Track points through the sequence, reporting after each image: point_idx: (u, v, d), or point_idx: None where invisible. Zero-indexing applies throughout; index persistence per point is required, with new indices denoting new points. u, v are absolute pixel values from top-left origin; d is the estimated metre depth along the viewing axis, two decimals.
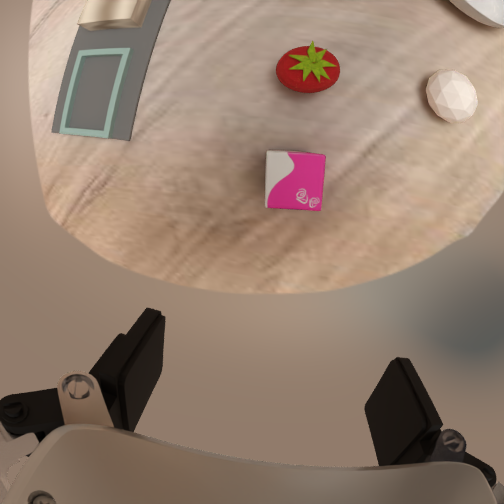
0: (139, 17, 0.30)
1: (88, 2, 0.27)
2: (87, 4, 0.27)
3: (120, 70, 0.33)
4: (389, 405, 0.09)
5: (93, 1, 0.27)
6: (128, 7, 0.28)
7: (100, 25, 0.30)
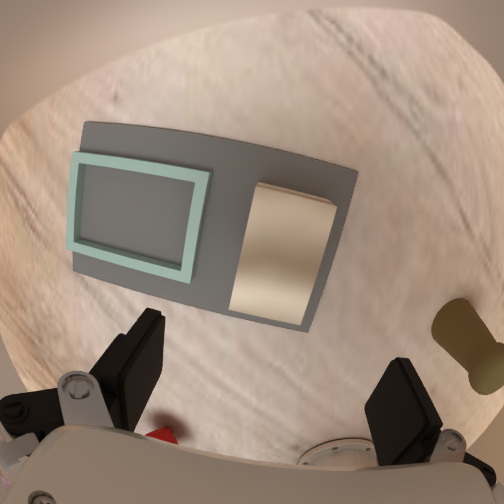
0: None
1: (310, 206, 0.21)
2: (304, 206, 0.21)
3: (152, 269, 0.26)
4: (389, 405, 0.09)
5: (306, 221, 0.21)
6: (254, 304, 0.24)
7: None
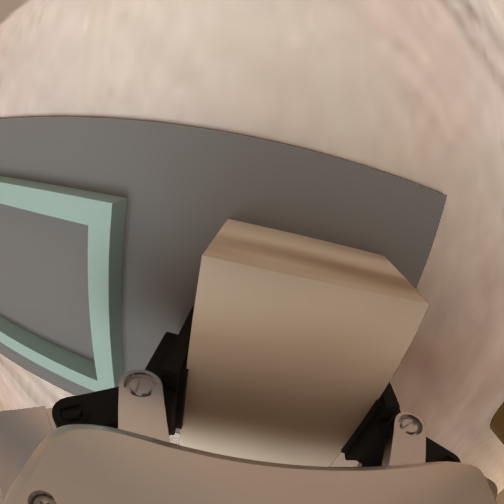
0: None
1: (364, 309, 0.07)
2: (346, 308, 0.07)
3: (57, 368, 0.13)
4: None
5: (346, 345, 0.07)
6: None
7: None
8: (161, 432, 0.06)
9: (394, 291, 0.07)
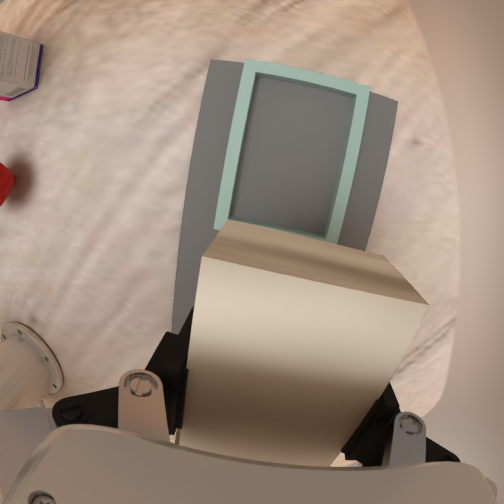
0: None
1: (363, 309, 0.07)
2: (346, 309, 0.07)
3: (227, 184, 0.23)
4: None
5: (346, 346, 0.07)
6: None
7: None
8: (161, 432, 0.06)
9: (394, 292, 0.07)
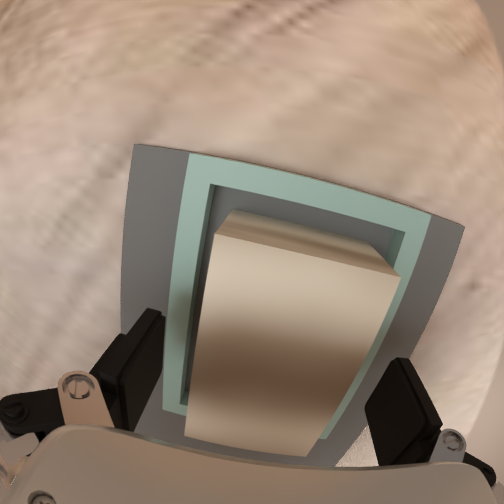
0: None
1: (344, 279, 0.09)
2: (330, 278, 0.09)
3: (173, 369, 0.14)
4: (389, 405, 0.09)
5: (331, 310, 0.09)
6: (227, 435, 0.12)
7: None
8: None
9: (370, 266, 0.09)
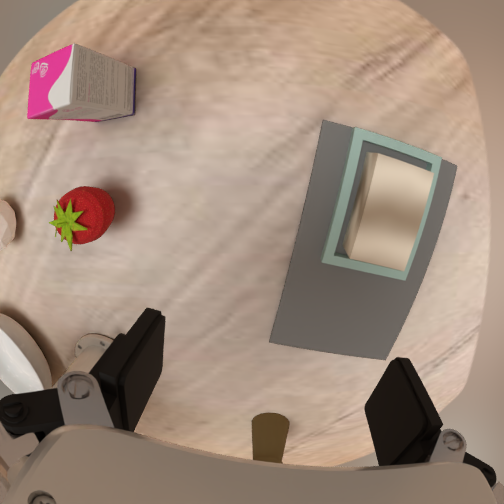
0: None
1: (416, 171, 0.23)
2: (412, 171, 0.23)
3: (336, 229, 0.29)
4: (389, 405, 0.09)
5: (413, 183, 0.24)
6: (371, 253, 0.26)
7: (363, 187, 0.26)
8: None
9: (423, 169, 0.23)
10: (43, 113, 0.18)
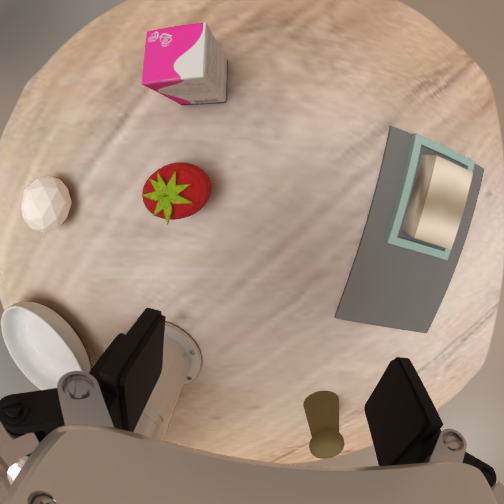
0: None
1: (461, 171, 0.28)
2: (458, 170, 0.28)
3: (400, 215, 0.33)
4: (389, 405, 0.09)
5: (459, 180, 0.28)
6: (429, 234, 0.30)
7: (422, 182, 0.30)
8: None
9: (465, 169, 0.28)
10: (165, 81, 0.21)
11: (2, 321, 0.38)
